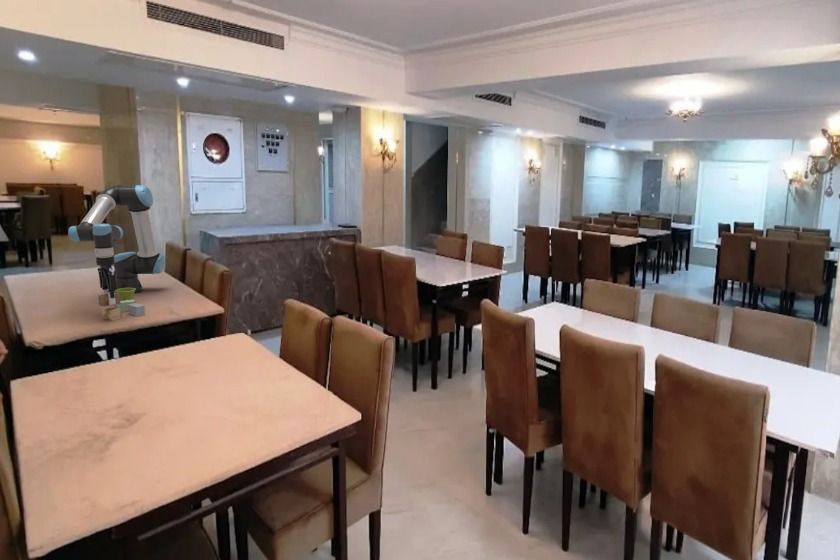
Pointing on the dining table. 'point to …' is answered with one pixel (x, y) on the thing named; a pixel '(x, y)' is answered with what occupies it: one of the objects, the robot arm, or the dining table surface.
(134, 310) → the grey brick
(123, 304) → the sage brick
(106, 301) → the walnut brick
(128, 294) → the plant pot
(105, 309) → the oak brick
